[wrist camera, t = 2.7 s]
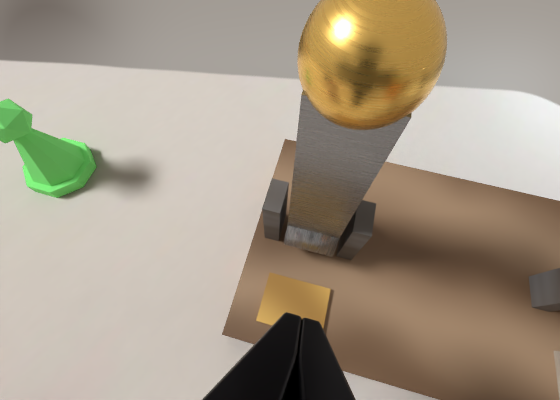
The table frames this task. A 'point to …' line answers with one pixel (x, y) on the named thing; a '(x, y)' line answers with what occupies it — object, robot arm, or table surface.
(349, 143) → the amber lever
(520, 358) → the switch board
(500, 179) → the table surface
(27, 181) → the game piece
